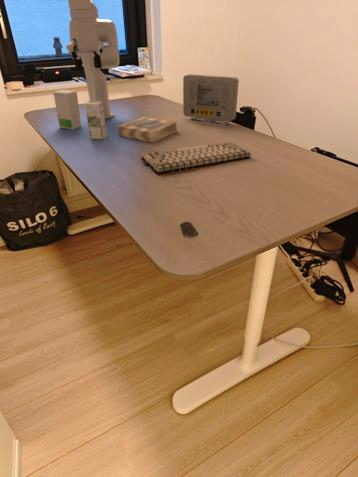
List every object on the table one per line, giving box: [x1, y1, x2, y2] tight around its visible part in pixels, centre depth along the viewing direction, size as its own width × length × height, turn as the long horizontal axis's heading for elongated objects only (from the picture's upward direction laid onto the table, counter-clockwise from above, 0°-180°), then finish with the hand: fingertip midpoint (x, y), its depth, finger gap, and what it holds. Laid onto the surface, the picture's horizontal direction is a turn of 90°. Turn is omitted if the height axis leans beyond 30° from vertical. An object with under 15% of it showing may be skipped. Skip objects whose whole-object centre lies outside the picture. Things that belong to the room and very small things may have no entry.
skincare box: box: [53, 89, 82, 130], centre depth 152 cm, size 8×7×16 cm
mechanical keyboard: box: [140, 141, 252, 177], centre depth 121 cm, size 38×19×3 cm, turn 115°
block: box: [179, 221, 199, 238], centre depth 82 cm, size 4×6×2 cm, turn 16°
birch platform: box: [117, 116, 177, 143], centre depth 146 cm, size 18×18×4 cm
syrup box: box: [84, 100, 108, 141], centre depth 139 cm, size 6×6×14 cm
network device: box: [182, 73, 240, 127], centre depth 156 cm, size 26×9×20 cm, turn 62°
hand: (89, 69), depth 128 cm, fingers open, 9 cm apart
